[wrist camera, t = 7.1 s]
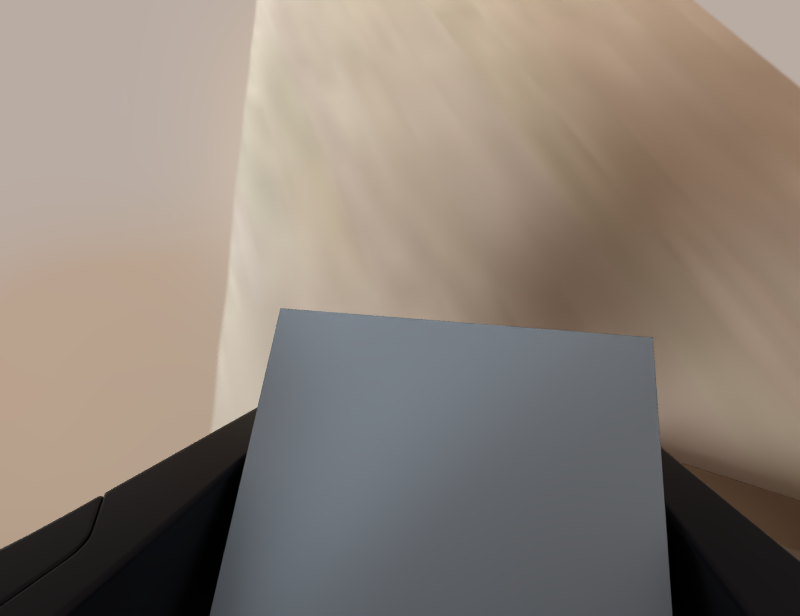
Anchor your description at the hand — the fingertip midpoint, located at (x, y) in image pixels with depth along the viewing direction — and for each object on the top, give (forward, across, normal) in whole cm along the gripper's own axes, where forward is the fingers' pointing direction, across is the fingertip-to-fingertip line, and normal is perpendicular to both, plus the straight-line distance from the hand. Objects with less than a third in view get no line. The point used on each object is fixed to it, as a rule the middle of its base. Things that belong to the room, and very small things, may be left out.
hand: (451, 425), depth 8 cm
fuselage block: (+4, 0, +6) cm, 7 cm away
